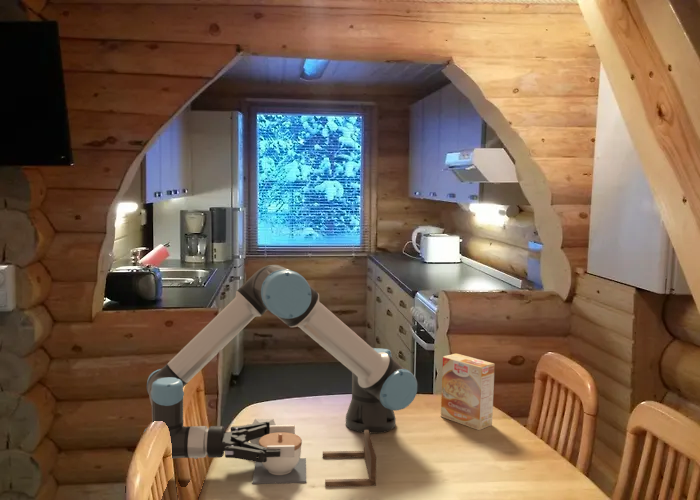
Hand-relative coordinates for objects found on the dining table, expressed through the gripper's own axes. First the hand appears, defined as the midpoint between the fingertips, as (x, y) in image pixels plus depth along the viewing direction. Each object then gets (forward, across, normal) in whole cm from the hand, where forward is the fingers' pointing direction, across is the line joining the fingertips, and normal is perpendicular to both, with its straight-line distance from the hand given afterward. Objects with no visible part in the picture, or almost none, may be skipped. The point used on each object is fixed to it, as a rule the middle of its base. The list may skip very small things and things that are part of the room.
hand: (294, 440), depth 160 cm
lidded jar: (-4, 0, -8) cm, 9 cm away
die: (-9, -15, -8) cm, 19 cm away
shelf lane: (+14, 0, -8) cm, 16 cm away
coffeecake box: (+53, -32, -8) cm, 62 cm away
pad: (-4, 0, -8) cm, 9 cm away
